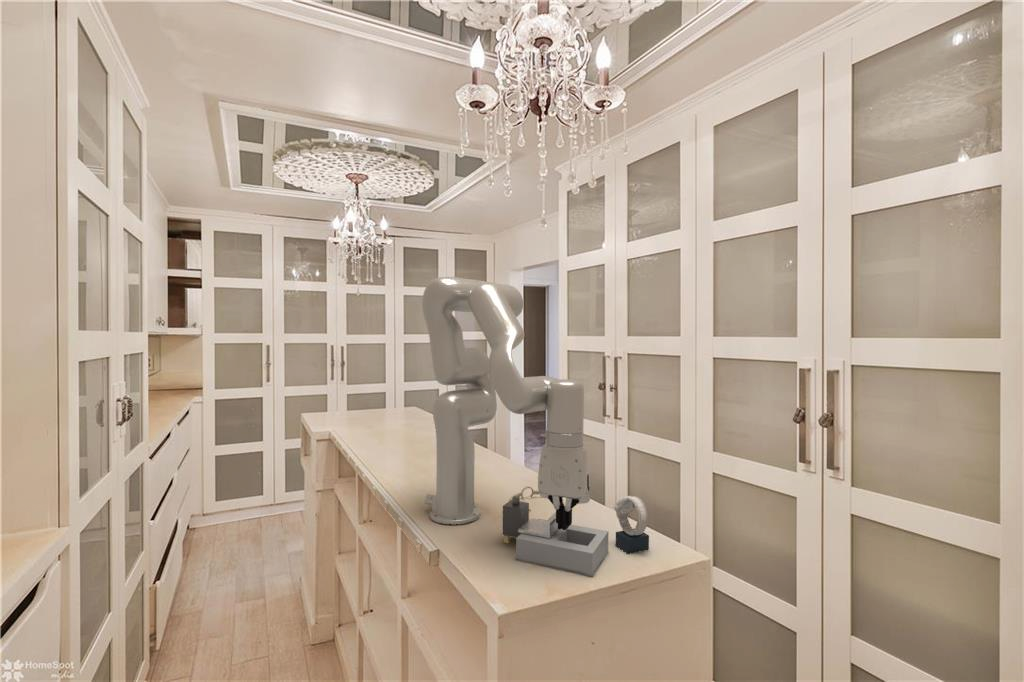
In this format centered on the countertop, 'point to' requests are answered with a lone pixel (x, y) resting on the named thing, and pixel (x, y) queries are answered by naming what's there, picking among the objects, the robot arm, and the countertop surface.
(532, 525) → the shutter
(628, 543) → the watch
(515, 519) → the plug
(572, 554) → the socket box
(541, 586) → the countertop surface
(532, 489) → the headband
